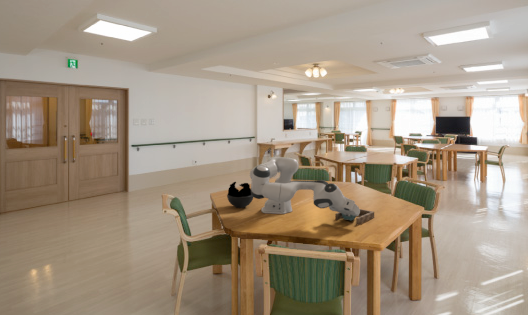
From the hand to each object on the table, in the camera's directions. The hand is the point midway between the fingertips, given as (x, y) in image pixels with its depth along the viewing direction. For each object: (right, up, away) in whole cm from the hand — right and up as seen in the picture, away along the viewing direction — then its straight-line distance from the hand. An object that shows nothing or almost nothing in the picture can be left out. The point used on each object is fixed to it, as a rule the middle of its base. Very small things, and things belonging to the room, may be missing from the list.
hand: (347, 215), depth 208 cm
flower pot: (+2, -4, +4) cm, 6 cm away
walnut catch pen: (+6, -4, +7) cm, 10 cm away
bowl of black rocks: (-71, -1, +38) cm, 81 cm away
